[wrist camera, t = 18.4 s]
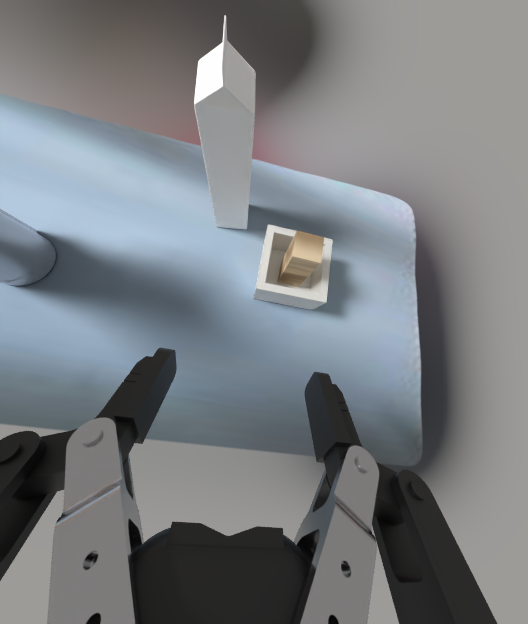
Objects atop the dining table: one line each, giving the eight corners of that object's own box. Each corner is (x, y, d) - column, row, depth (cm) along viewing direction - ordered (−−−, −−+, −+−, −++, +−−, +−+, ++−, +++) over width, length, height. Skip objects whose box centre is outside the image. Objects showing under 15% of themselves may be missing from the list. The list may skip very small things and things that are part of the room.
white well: (312, 310, 36) (326, 302, 30) (253, 298, 35) (256, 288, 29) (318, 256, 38) (332, 239, 32) (263, 243, 37) (268, 224, 31)
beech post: (298, 286, 35) (320, 263, 25) (277, 282, 35) (292, 256, 25) (301, 267, 36) (324, 237, 26) (281, 262, 36) (296, 230, 26)
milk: (247, 204, 38) (260, 20, 17) (247, 230, 37) (260, 68, 16) (217, 200, 38) (190, 3, 16) (215, 227, 36) (184, 53, 15)
